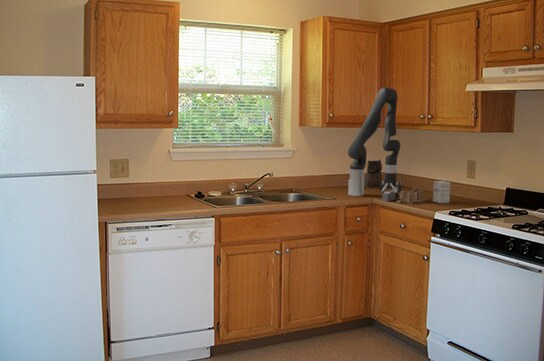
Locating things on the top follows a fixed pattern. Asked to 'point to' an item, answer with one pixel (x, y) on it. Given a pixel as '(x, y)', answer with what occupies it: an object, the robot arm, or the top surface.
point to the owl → (373, 173)
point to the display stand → (411, 196)
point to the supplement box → (441, 192)
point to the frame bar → (388, 196)
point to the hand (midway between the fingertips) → (390, 198)
